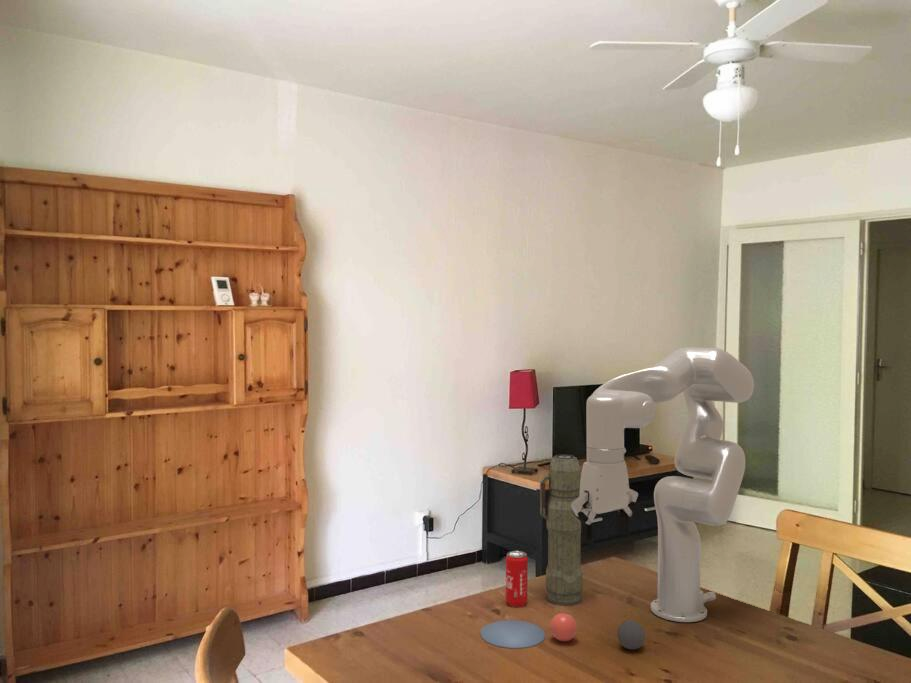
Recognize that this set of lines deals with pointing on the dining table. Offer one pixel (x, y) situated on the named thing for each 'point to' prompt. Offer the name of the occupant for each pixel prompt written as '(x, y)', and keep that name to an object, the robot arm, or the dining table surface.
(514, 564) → the beverage can
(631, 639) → the gray ball
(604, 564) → the dining table surface
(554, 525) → the thermos
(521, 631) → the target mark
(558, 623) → the red ball
